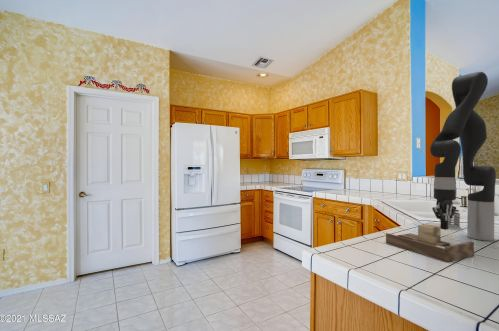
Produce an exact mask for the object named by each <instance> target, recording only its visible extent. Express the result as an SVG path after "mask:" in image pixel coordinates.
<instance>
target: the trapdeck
mask: <svg viewBox="0 0 499 331" xmlns="http://www.w3.org/2000/svg"><path fill="white" fill-rule="evenodd" d="M385 243H386V244H388V245H391V246H395V247H398V248H402V249H404V250H408V251H412V252H415V253H418V254H421V255H423V256H427V257H429V258H430V257H431V258H434V259H437V260H440V261H443V262H446V263H449V262H453V261H458V260H462V259H463V260H464V259H466V258H471V257H475V242H474V241H468V242H462V243H457V244H452V245H451V244H450V242H447V241H443V240H441V242H436V243H429V242H425V241H422V240H418V234H415V233H411V232H410V233H404V234H397V235H395V234H391V233H387V232H386V233H385Z"/></svg>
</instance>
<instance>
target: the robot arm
mask: <svg viewBox="0 0 499 331" xmlns="http://www.w3.org/2000/svg"><path fill="white" fill-rule="evenodd" d="M488 81H489V80H488V76H487V74H486V73H485V72H484V71H477V72H476V71H475V72H471V73H467V74H463V75H459V76H455V77H454V79H453V80H452V83H451V94H452V97H453V101H454V104H455V105H454V106H455V108H454V109H453V110H452V111H451V112H450V113H449V114H448V115H447V117H446V119H445V122H444V124H443V126H442V128H441V130H440V132H439V133H438V134H437V135H436V137H435V138H434V140H433V141H432V142H431V144H430V148H429V152H430V154H431V156H432V157H433V158H441V159H442V158H444V159H443V161H442V162H438V163H436V164H435V165H434V177H433V178H434V179H433V199H436V202H435V203H436V206H435V207H434V206H433V207H432V208H431V209H432V211H433V213H434V215H435V218H436V219H437V220H440V225H439V226H440V227H441V230H444V231H447V230H449V229H448V221H449V220H450V219H452V217H454V216H453V215H454V213H455V210H457V206H454V204H453V202H452V200H456V201H457V181H456V167H457V164H458V161H459V158H460V156H461V154H462V175H463V176H462V177H463V181H464V183H465V185H466V186H474V187H482V188H483V189H481V190H480V191H476V192H472V193H469V194H467V226H466V227H467V229H466V230H467V235H466V236H467V237H468V238H470V239H474V240H480V241H484V242H485V241H487V242H488V241H489V242H491V241H495V197H496V196H495V195H496V180H497V179H496V178H497V177H496V176H497V174H496V169H495V168H494V166H492V165H491V166H490V165H474V160H475V157H476V155H477V153H478V152H479V151H480V149H481V148H482V147H483V145H484V144H485V142H486V140H487V138H488V135H487V125H486V122H485V120H484V119H483V118H482V117H481V115H479V114H478V112H476V111H475V110H474V109H475V107H476V106H477V105H478V103H479V101H480V99H481V98H482V97H483V95H484V93H485V92H486V89H487V87H488ZM458 138H459V140H460V143H459V142H458V141H457V140H456V139H458Z"/></svg>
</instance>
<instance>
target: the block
mask: <svg viewBox="0 0 499 331" xmlns="http://www.w3.org/2000/svg"><path fill="white" fill-rule="evenodd" d="M439 226H440V225H439ZM439 226H437V225H433V224H428V223H424V224H418V225H417V235H418V240H422V241H425V242H429V243H436V242H441V241H442V240H441V232H442V231H441V230H442V229H441V227H439Z"/></svg>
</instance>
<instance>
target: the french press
mask: <svg viewBox="0 0 499 331" xmlns="http://www.w3.org/2000/svg"><path fill="white" fill-rule="evenodd" d="M452 202H453V205H460V204H461V202H460V201H457V199H456V200H452ZM459 212H460V210H459V209H456V210H455V213H454V215H453V217H452V219H450V220H449V221H448V229H447V230H450V231H461V230H462V231H463V229H462V227H461V226H460V225H461V224H460V223H461V221H460V220H461V217H460V216H461V214H460V213H459Z"/></svg>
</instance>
